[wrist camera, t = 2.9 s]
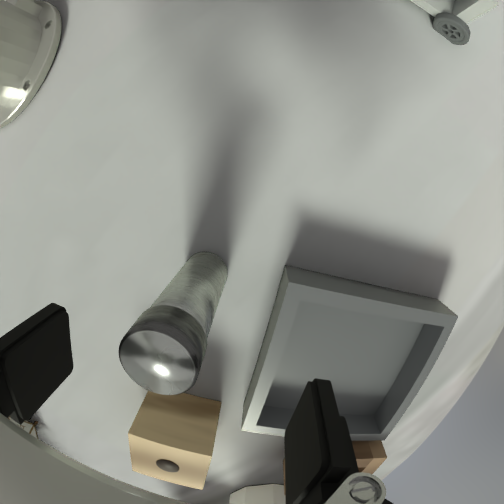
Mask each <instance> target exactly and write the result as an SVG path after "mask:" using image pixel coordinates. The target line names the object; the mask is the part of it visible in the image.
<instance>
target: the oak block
mask: <svg viewBox="0 0 504 504" xmlns="http://www.w3.org/2000/svg"><path fill="white" fill-rule="evenodd" d="M220 408H221V402H220V401H215V400H211V399H206V398H202V397H198V396H194V395H190V394H186V393H181V394H177V395H162V394H157V393H154V392H151V391H149V390H148V392H147V394H146V397H145V399H144V401H143V403H142V405H141V407H140V409H139V411H138V413H137V415H136V417H135V420H134V422H133V424H132V426H131V428H130V430H129V432H128V437H129V446H130V454H131V462H132V469H133V471H135V472H138V473H141V474H144V475H147V476H150V477H154V478H157V479H160V480H164V481H168V482H171V483H175V484H179V485H183V486H187V487H192V488H196V489H201V490H203V486H204V483H205V479H206V476H207V472H208V469H209V465H210V462H211V458H212V453H213V447H214V442H215V436H216V430H217V425H218V419H219V413H220Z"/></svg>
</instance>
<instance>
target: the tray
mask: <svg viewBox="0 0 504 504" xmlns="http://www.w3.org/2000/svg"><path fill="white" fill-rule="evenodd" d="M457 318H458V316H457V315H456V314H455V313H454V312H452V311H451V310H450V309H449V308H448V307H447V306H445V305H444V304H443V303H442V302H441V301H439V300H438V299H434V298H429V297H425V296H420V295H416V294H411V293H407V292H402V291H398V290H393V289H389V288H384V287H380V286H375V285H371V284H366V283H362V282H358V281H353V280H349V279H344V278H340V277H335V276H331V275H327V274H322V273H318V272H313V271H309V270H305V269H300V268H296V267H291V266H287V265H285V267H284V271H283V274H282V278H281V282H280V285H279V289H278V292H277V296H276V299H275V303H274V306H273V310H272V313H271V317H270V320H269V323H268V327H267V330H266V334H265V337H264V340H263V344H262V347H261V350H260V354H259V357H258V360H257V363H256V367H255V370H254V373H253V376H252V379H251V383H250V386H249V389H248V392H247V395H246V398H245V401H244V405H243V417H242V428H241V430H242V431H248V432H254V433H261V434H268V435H276V436H285V431H286V428H287V426H288V424H289V422H290V419H291V417H292V415H293V413H294V411H295V409H296V407H297V405H298V402H299V400H300V398H301V396H302V393H303V391H304V389H305V387H306V384H307V382H308V381H311V382H312V381H313V380H314V379H315V378H318V379H324V380H330V381H331V384H332V388H333V392H334V396H335V399H336V403H337V407H338V411H339V415H340V416H344V417H345V419H346V422H347V425H348V429H349V433H350V437H351V441H375V440H385V439H386V437H387V436H388V435H389V434H390V432H391V431H392V429H393V428H394V427H395V425H396V424H397V423H398V421H399V420H400V418H401V417H402V416H403V414H404V413H405V411H406V410H407V408H408V407H409V405H410V404H411V402H412V401H413V399H414V398H415V396H416V394H417V393H418V391H419V390H420V388H421V386H422V385H423V383H424V381H425V380H426V378H427V376H428V375H429V373H430V371H431V369H432V368H433V366H434V364H435V362H436V360H437V359H438V357H439V355H440V353H441V351H442V349H443V347H444V345H445V343H446V341H447V339H448V337H449V335H450V333H451V331H452V329H453V327H454V325H455V323H456V320H457Z"/></svg>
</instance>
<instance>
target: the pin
mask: <svg viewBox="0 0 504 504" xmlns="http://www.w3.org/2000/svg"><path fill="white" fill-rule="evenodd" d="M226 279H227V268H226V265H225V263H224V262H223V260H222V259H221V258H220V257H219V256H217V255H215V254H213V253H210V252H199V253H196V254H194V255H193V256H191V257H190V258H189V260H188V261H187V262H186V263H185V265H184V266H183V267H182V268H181V269H180V271H179V272H178V273H177V274H176V276H175V277H174V278H173V279H172V281H171V282H170V283H169V284H168V286H167V287H166V288H165V289H164V291H163V292H162V293H161V294H160V296H159V297H158V298H157V299H156V301H155V302H154V303H153V304H152V306H151V307H150V308H149V309H147V310H146V311H144V312H143V313H142V314H141V316H140V317H139V318H138V320H137V321H136V322H135V323H134V325H133V326H132V327H131V328H130V330H129V331H128V332H127V334H126V335H125V336H124V337H123V339H122V340H121V343H120V346H119V358H120V361H121V364H122V366H123V368H124V370H125V371H126V373H127V374H128V375H129V376H130V378H131V379H132V380H133V381H135V382H136V383H137V384H138V385H140V386H141V387H143V388H145V389H146V390H149V391H151V392H154V393H157V394H162V395H177V394H181V393H184V392H186V391H188V390H189V389H190V388H191V387H192V386H193V385H194V384H195V382H196V380H197V377H198V374H199V371H200V367H201V364H202V361H203V358H204V354H205V351H206V347H207V337H208V334H209V331H210V328H211V325H212V322H213V319H214V316H215V312H216V309H217V306H218V303H219V300H220V297H221V294H222V291H223V288H224V285H225V282H226Z"/></svg>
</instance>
